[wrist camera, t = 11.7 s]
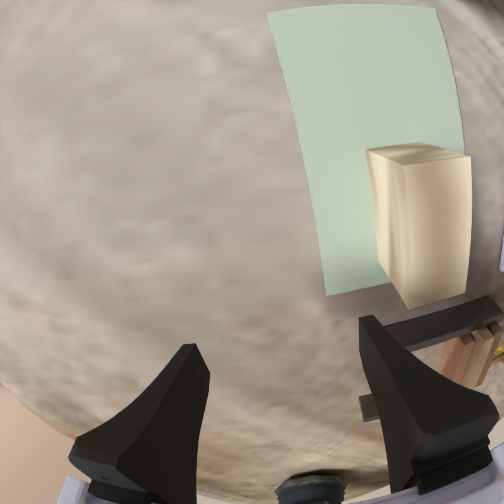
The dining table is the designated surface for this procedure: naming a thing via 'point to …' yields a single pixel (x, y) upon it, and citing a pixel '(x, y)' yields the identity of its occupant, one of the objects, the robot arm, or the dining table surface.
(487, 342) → the offcut stack
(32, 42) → the dining table surface
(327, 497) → the lantern
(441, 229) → the birch block
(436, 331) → the rack
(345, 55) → the rubber mat
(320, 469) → the dining table surface
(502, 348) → the shard
